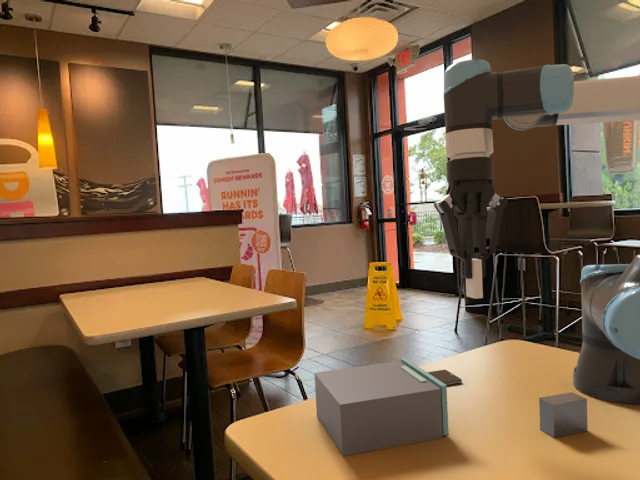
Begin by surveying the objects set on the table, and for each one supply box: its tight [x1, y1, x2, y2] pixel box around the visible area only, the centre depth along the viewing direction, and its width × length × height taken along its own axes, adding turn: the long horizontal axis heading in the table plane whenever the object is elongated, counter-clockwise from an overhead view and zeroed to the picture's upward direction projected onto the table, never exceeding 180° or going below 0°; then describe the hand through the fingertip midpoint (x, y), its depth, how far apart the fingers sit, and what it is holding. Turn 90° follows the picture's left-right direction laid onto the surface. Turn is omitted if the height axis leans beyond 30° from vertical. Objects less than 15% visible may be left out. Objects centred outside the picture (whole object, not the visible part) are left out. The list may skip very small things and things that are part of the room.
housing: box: [314, 360, 444, 457], centre depth 79 cm, size 16×15×8 cm
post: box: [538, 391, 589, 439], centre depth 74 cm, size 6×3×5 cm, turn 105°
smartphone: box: [426, 369, 463, 387], centre depth 98 cm, size 7×1×16 cm
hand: (474, 296), depth 83 cm, fingers closed
